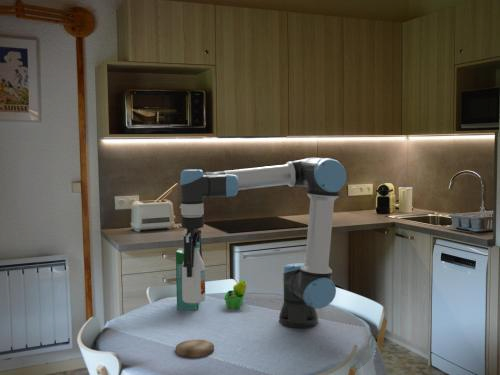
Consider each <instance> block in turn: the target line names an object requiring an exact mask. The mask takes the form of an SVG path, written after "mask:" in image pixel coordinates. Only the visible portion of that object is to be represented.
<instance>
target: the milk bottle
mask: <svg viewBox="0 0 500 375" xmlns="http://www.w3.org/2000/svg"><path fill="white" fill-rule="evenodd" d="M199 249H200V243H199V242H197V244H196V247H195V251H194V263H193V267H194V276H195V286H194V287H192V286H186V267H183V265H184V261H183V265H182V298H183V301H184V302H186V303H200V304H201V303H203V302H204V301H205V300H206V273H205V270H206V268H205V263H204V259H203V260H202V258H203V257H202V258H201V256H200V252H199Z"/></svg>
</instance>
